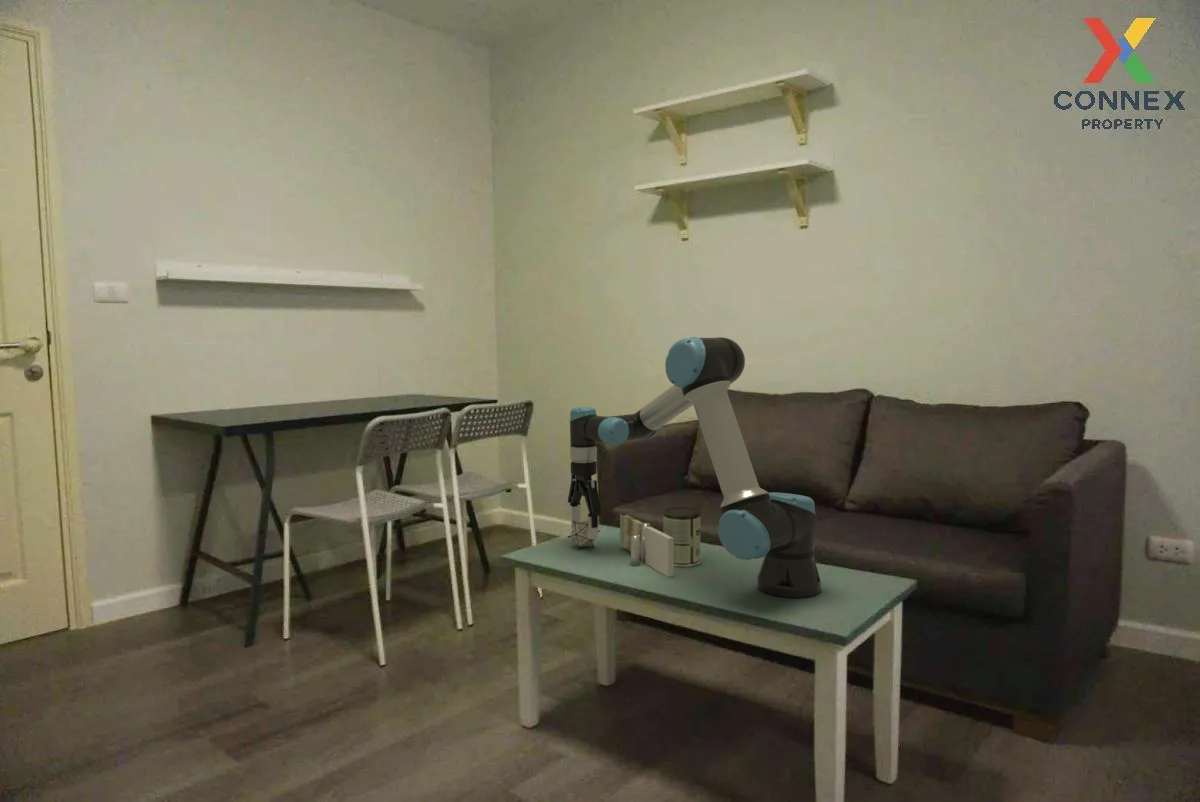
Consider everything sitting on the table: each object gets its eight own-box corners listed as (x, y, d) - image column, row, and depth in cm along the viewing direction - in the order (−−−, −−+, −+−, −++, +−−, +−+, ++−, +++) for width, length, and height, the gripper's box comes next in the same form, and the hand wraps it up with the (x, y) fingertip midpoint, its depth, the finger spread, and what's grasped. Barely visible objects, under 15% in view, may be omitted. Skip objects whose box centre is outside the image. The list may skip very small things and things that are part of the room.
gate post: (651, 562, 210) (651, 524, 209) (643, 563, 209) (643, 525, 208) (647, 559, 212) (647, 522, 211) (639, 560, 211) (639, 523, 210)
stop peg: (641, 565, 207) (641, 536, 206) (633, 566, 206) (633, 537, 206) (637, 562, 209) (637, 534, 209) (629, 564, 208) (629, 534, 208)
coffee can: (662, 555, 216) (663, 506, 215) (700, 556, 215) (700, 507, 214) (662, 566, 206) (662, 514, 205) (701, 567, 205) (701, 515, 204)
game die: (589, 561, 224) (599, 538, 218) (561, 550, 224) (571, 528, 218) (595, 539, 231) (605, 517, 226) (569, 529, 231) (578, 507, 225)
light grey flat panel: (673, 576, 198) (673, 538, 197) (668, 577, 197) (668, 538, 196) (650, 562, 209) (650, 526, 209) (645, 563, 209) (645, 527, 208)
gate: (646, 556, 212) (646, 523, 212) (639, 556, 211) (639, 524, 211) (626, 544, 224) (626, 514, 223) (620, 545, 223) (620, 514, 222)
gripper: (613, 466, 213) (613, 541, 214) (579, 454, 236) (580, 522, 237) (587, 468, 210) (588, 544, 212) (556, 455, 233) (557, 525, 234)
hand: (584, 533), depth 224 cm, fingers open, 13 cm apart
